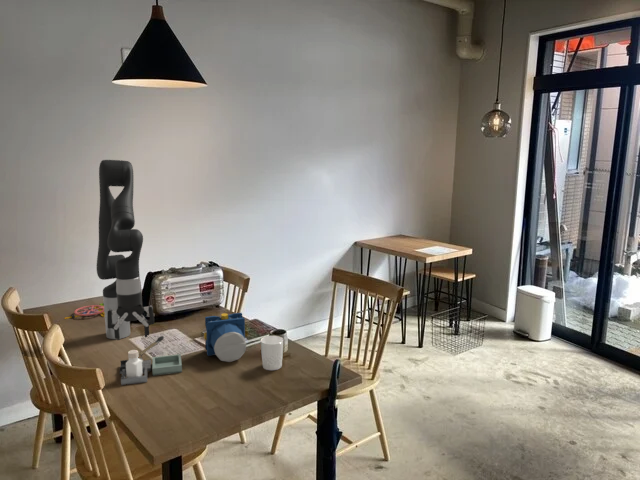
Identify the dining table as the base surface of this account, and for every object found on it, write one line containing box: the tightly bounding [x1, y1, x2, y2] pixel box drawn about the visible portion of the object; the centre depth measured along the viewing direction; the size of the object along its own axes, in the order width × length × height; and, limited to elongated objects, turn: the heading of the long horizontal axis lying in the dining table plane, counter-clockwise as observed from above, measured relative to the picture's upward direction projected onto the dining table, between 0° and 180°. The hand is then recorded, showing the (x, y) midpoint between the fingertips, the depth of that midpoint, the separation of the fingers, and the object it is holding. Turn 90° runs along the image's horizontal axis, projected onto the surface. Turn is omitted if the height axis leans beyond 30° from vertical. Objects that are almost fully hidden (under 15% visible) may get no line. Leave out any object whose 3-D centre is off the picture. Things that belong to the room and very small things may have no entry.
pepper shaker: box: [125, 349, 144, 378], centre depth 170 cm, size 4×4×10 cm
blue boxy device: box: [203, 312, 247, 363], centre depth 188 cm, size 13×15×15 cm
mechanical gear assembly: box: [64, 301, 105, 320], centre depth 235 cm, size 30×4×15 cm
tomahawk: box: [138, 335, 165, 357], centre depth 195 cm, size 21×7×1 cm, turn 166°
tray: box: [151, 353, 183, 377], centre depth 179 cm, size 10×10×3 cm
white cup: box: [260, 335, 284, 371], centre depth 180 cm, size 8×8×10 cm
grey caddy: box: [118, 357, 152, 386], centre depth 174 cm, size 15×10×4 cm, turn 17°
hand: (132, 338), depth 169 cm, fingers open, 8 cm apart
